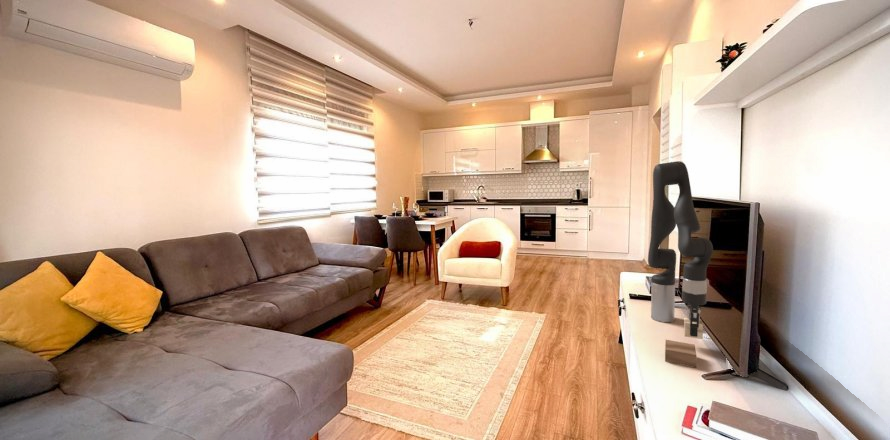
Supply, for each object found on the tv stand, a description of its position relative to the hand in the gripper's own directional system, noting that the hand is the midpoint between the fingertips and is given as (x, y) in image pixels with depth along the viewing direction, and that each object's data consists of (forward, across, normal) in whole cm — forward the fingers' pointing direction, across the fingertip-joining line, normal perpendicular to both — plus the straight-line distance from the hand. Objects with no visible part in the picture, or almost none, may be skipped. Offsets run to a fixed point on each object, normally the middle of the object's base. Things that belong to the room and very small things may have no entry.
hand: (693, 332), depth 132 cm
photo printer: (+6, +13, +12) cm, 18 cm away
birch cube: (+1, 0, 0) cm, 1 cm away
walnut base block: (+6, +12, -4) cm, 14 cm away
